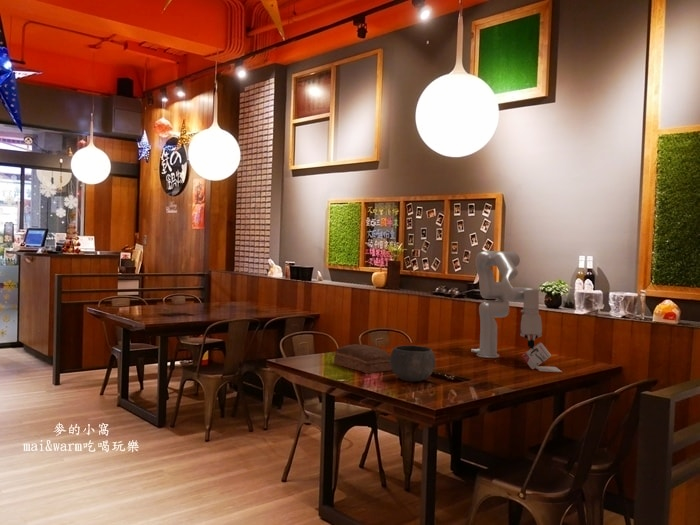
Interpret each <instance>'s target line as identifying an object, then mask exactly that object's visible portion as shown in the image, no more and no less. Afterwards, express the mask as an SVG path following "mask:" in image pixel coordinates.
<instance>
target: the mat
mask: <svg viewBox="0 0 700 525" xmlns="http://www.w3.org/2000/svg"><path fill="white" fill-rule="evenodd" d="M534 369H536V370H537V371H539V372H546V373H547V372H552V373H553V372H554V373H563V371H562V370H560V369H559V368H558V367H557V366H542V365H541V366H540V365H538V366H537V367H535V368H534Z"/></svg>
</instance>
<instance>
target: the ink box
mask: <svg viewBox="0 0 700 525" xmlns="http://www.w3.org/2000/svg"><path fill="white" fill-rule="evenodd" d="M521 357H522V359H523V360H524V361H525V362H526V364H527V365H528V366H529V368H530V369H531V370H534V369H536V368H535V367H537V366H540V365H541V364H542V363H544V362H546V361H547V360H549V358H551V357H552V354H551V353H550V351H549V350H548V349H547V347H546V346H545V345H544V344H543V343H542V342H540V341H539V343H537V344H536V345H534V347H533V348H529V350H527V351H526V352H524V353H523V354H522V355H521Z"/></svg>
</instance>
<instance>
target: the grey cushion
mask: <svg viewBox="0 0 700 525" xmlns="http://www.w3.org/2000/svg"><path fill="white" fill-rule="evenodd" d="M334 353H335V355H334V356H333V358H334V359H333V363H334V365H337V366H340V367H344V368H348V369H352V370H353V371H354V370H355V371H358V372H362V373H364V374H374V373H381V372H382V373H383V372H389V371H392V368H391V364H390V359H391V354H390V353H388V352H387V351H385V350H383V349H381V348H379V347H375V346H371V345H369V344H368V345H367V344H356V343H355V344H347V345H343V346H341V347H338V348H337V349H336V351H335V352H334Z"/></svg>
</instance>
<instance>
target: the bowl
mask: <svg viewBox="0 0 700 525" xmlns="http://www.w3.org/2000/svg"><path fill="white" fill-rule="evenodd" d="M434 353H435V352H434V351H433V349H432V348H429V347H428V346H427V347H426V346H420V345H411V344H408V345H407V344H406V345H398V346H395V347H394V348H393V349H392V351H391V354H390V356H391V359H390V364H391V368H392V369H391V371H392V372H393V373H394V374H395V376H396V377H398V378H399V379H400V380H402V381H405V382H409V383H411V382H412V383H417V382H422V381H425V380H426V379H428V378H429V377H430V376H431V375H432V374H433V372H434V370H435V368H436V357H435V354H434Z"/></svg>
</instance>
